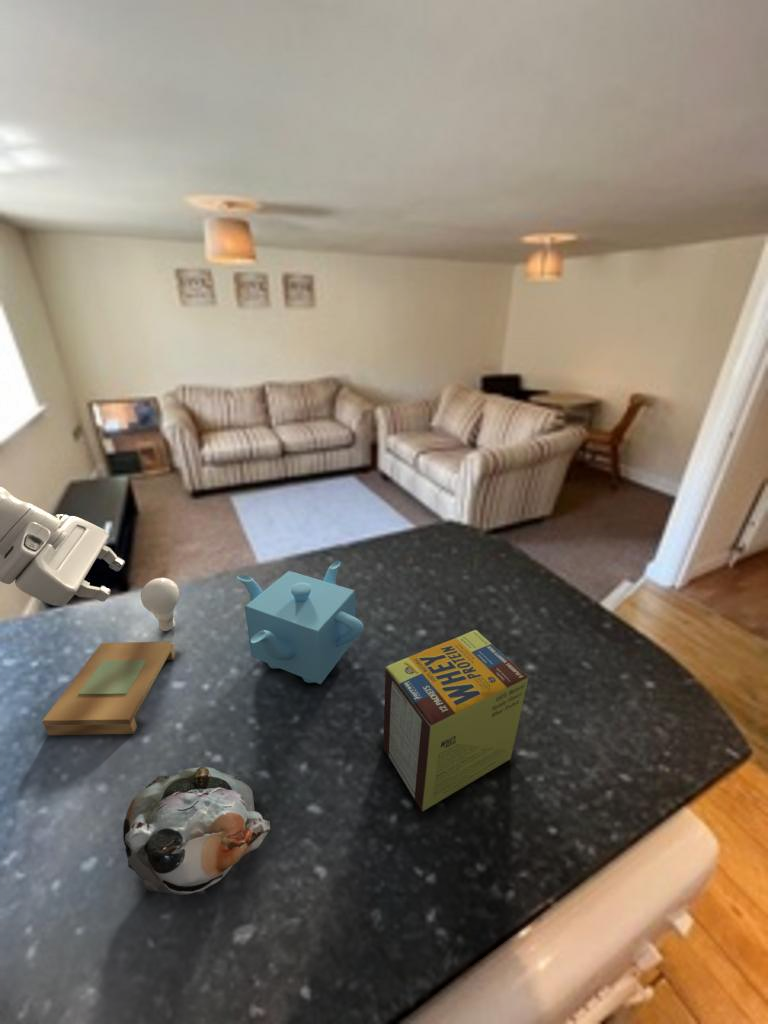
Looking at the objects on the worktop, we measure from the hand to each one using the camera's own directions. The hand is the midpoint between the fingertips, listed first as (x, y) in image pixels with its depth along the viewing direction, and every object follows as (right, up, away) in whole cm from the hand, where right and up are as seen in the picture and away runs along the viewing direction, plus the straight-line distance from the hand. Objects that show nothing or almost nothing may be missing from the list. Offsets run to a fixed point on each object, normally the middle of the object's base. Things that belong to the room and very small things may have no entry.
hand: (115, 580), depth 79 cm
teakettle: (+32, -14, +2) cm, 35 cm away
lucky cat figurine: (+26, -27, -27) cm, 46 cm away
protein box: (+56, -22, -15) cm, 62 cm away
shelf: (+5, -17, -7) cm, 19 cm away
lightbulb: (+6, -10, +7) cm, 14 cm away
